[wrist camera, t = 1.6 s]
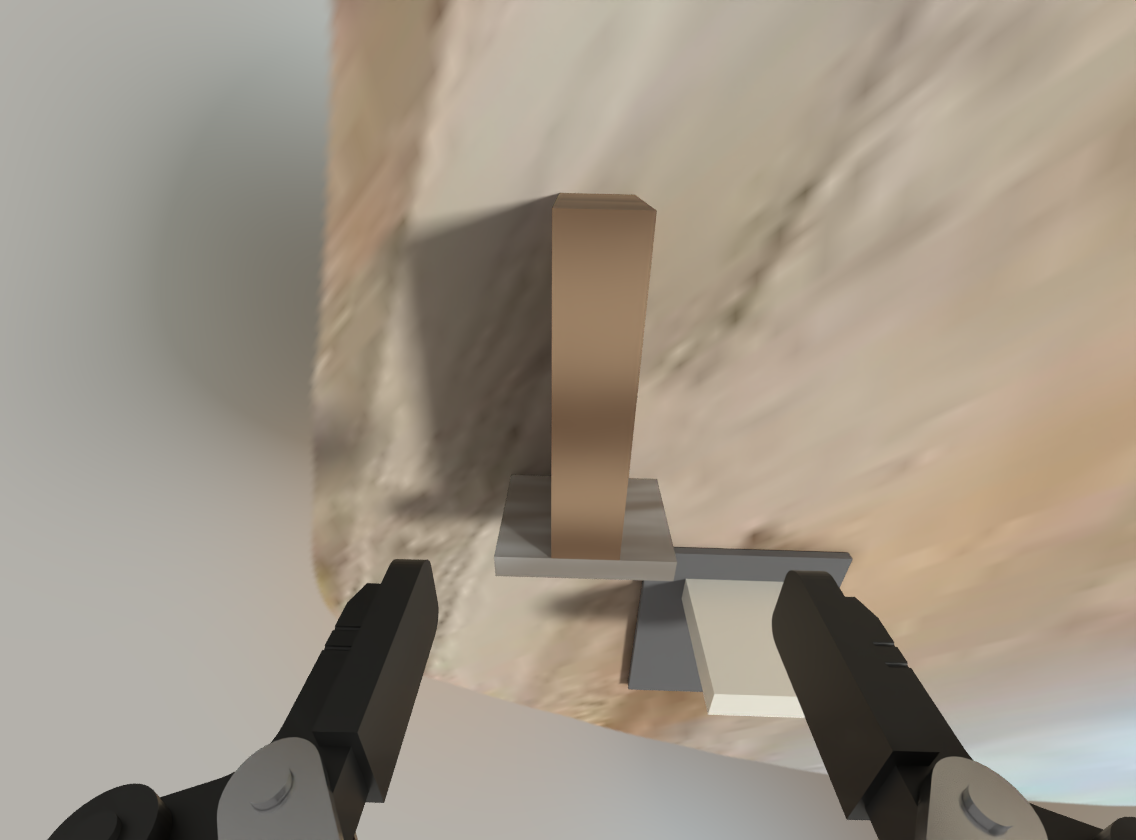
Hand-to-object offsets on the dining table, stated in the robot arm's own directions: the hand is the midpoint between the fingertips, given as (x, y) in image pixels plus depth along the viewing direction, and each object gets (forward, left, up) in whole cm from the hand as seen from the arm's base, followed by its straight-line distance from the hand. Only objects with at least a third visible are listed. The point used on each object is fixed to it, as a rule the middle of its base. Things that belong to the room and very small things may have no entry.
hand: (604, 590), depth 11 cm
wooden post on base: (0, 0, -13) cm, 13 cm away
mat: (+19, +10, -13) cm, 25 cm away
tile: (+15, +10, -13) cm, 22 cm away
